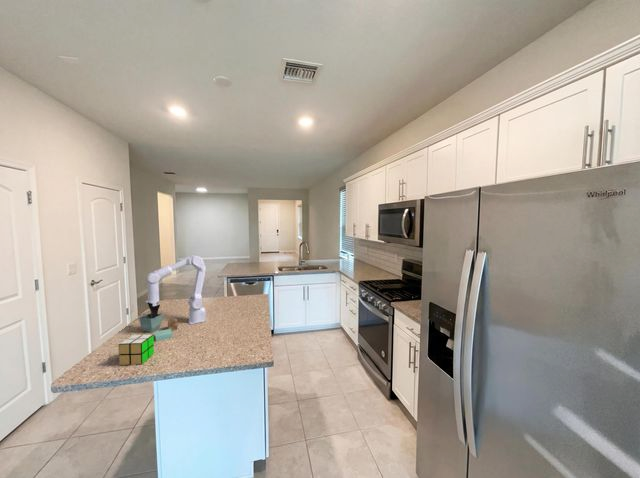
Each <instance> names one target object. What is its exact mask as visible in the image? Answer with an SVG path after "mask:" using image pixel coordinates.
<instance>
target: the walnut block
mask: <svg viewBox="0 0 640 478" xmlns="http://www.w3.org/2000/svg"><path fill="white" fill-rule="evenodd" d="M167 329H171V331H172V332H173V331H176V330H178V319H177V318H172V319H167Z"/></svg>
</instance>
